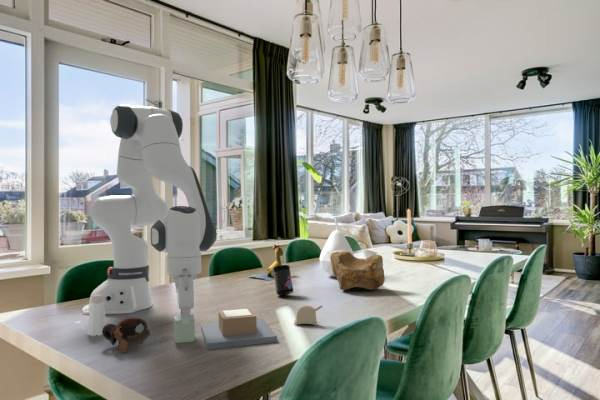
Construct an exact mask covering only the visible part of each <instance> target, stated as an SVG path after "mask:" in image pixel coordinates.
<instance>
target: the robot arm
mask: <svg viewBox="0 0 600 400" xmlns="http://www.w3.org/2000/svg"><path fill="white" fill-rule="evenodd" d="M109 119H110V122H109V124H110V127H111V132H112V134H113V135H114V136H116V137H117V138H120V140H119V141H120V142H119V148H118V156H117V165H116V167H117V168H116V177H117V180H118V181H119V182H120V183H122V184H123V185H125V186H127V187H129V188H131V189H132V190H131V192H132V193H131V194H130V195H128V194H127V195H126V194H125V195H105V196H101V197H96V198H95V199H94V200H93V202H92V203H91V205H90V209H89V212H90V213H89V214H90V218H91V220H92V221H93V223H94V224H95V225H96V226H97V227H99V228H100V229H102V231H104V232H105V233H106V234H107V236H108V238H109V240H110V242H111V245H112V253H113V266H109V267H108V268H107V270H106V271H107V279H106V280H105V281H103V282H102V283H101V284H99V285H98V286H97V287H96V288H95V289H93V291H92V292H91V294H90V297H89V302H88V304H86V305H84V306H83V307H82V309H81V313H82V314H83V315H86V316H89V311H90V304H92V297H91V296H92V295H94V294H102V303H104V308H105V315H113V314H114V315H115V314H120V315H121V314H133V313H135V312H138V311H142V310H146V309H148V308H149V309H150V308H151V307H152V306H153V305H154V303H153V300H152V295H151V291H150V283H149V282H150V278H151V277H150V273H151V272H150V271H151V270H150V265H149V263H148V261H149V259H148V258H149V256H148V255H149V253H148V251H149V250H148V248H149V247H148V244H147V242H146V241H145V240H144V239H143V238H141V237H138V236H136V235H134V234H133V233H132V229H131V228H132V227H150V226H151V228H150V244H151V246H152V247H153V249H155V250H156V251H158V252H159V253H167V254H166V274H167V275H168V276H171V280H172V281H173V282H174V285H175V290H176V291H175V293H176V298H177V304H178V309H179V310H180V315H182V323H183V324H189V323H190V314H191V309H193V308H194V307H195V285H194V281H195V280H197V276H198V274H201V273H202V253H201V252H207V251H208V250H210V248H212V247H213V245H214V244H215V243H216V240H217V237H218V236H217V235H218V233H217V228H216V225H215V223H214V221H213V219H212V217H211V215H210V212H209V209H208V206H207V202H206V199H205V195H204V193H203V190H202V186H201V183H200V181H199V178H198V175H197V173H196V170H195V169H194V168H193V167H191V166H190V165H189V164H188V162H187V161H186V159H184V156H183V154H182V150H181V144H180V140H179V139H180V137H181V136H182V134H183V133H182V132H183V128H184V127H183V126H184V124H183V119H182V117H181V115H180V113H179V112H177V111H174V110H171V109H165V108H164V109H163V108H161V107H155V106H144V105H130V104H119V105H117V106H116V107H114V109H112V112H111V115H110V118H109ZM152 178H155V179H156V180H158V181H160V182H164V183H166V184H170V185H172V186H173V187H175V188H178V189H179V190H180V191H182V193H183V194H184V196H185V197H186V202H187V204H188V206H186V205H176V206H171V207H170V208H168V206H167V202H166V201H165V199H164V198H162V196H160V195H159V193H157V191H156V190H155V187H154V184H153V179H152Z"/></svg>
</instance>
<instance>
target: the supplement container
mask: <svg viewBox="0 0 600 400" xmlns="http://www.w3.org/2000/svg"><path fill="white" fill-rule="evenodd" d="M273 273H274V280H273V281H274V285H275V292H276V295H277V296H280V297H281V296H288V295H291V294H293V293H294V287H293V285H294V284H293V279H292V273H291V267H290V265H289V264H281V266H277V267H274V268H273Z"/></svg>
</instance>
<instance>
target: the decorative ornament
mask: <svg viewBox="0 0 600 400" xmlns="http://www.w3.org/2000/svg"><path fill="white" fill-rule="evenodd" d="M322 308H323V305H319V306H317V307H315V308H314V307H313V306H311V305H308V304H304V305H301V306H300V307H298V309H297V311H296V315H295V320H294V321H293V322H294V323H293V325H294V326H296V325H301V324H303V325H314V326H318V321H317V313H316V312H317V311H318V310H321V309H322Z"/></svg>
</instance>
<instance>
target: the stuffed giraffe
mask: <svg viewBox="0 0 600 400" xmlns="http://www.w3.org/2000/svg"><path fill="white" fill-rule="evenodd" d="M272 250H275V251H274V254H275V256H274V257H275V260H274V262H273V263H272V264H271V265H270V266H269V267H268V268H267V269H266V271H265V273H259V274H258V273H257V274H252V275H248V276H247V277H248V278H256V279H260V280H261V279H262V280H264V281H268V282H273V281H275V280H274V273H273V268H274V267H277V266H281V265H282V260H281V257H283V256H284V251H283V248H282V247H281V246H280V245H279V244H277V245H276V244H274V245H273V246H272Z"/></svg>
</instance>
